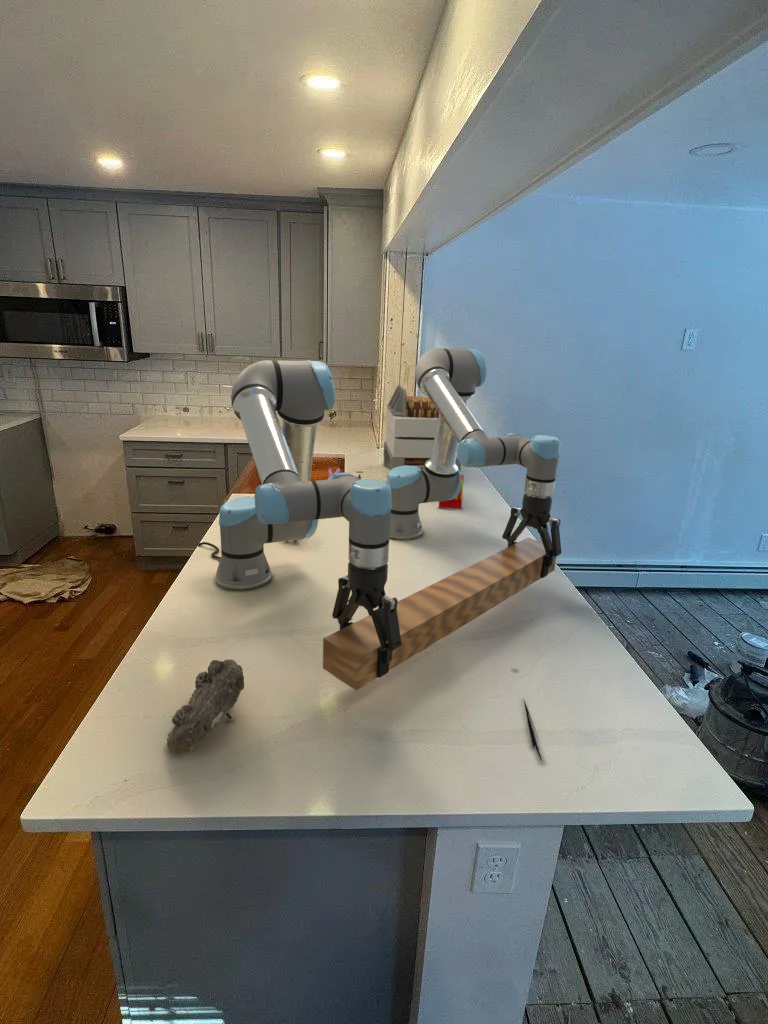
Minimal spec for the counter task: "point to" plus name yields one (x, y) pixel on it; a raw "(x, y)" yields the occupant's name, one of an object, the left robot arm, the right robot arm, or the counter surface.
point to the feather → (532, 731)
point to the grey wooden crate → (410, 430)
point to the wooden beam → (435, 612)
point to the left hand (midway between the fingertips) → (364, 662)
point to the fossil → (206, 705)
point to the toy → (453, 500)
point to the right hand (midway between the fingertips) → (527, 570)
